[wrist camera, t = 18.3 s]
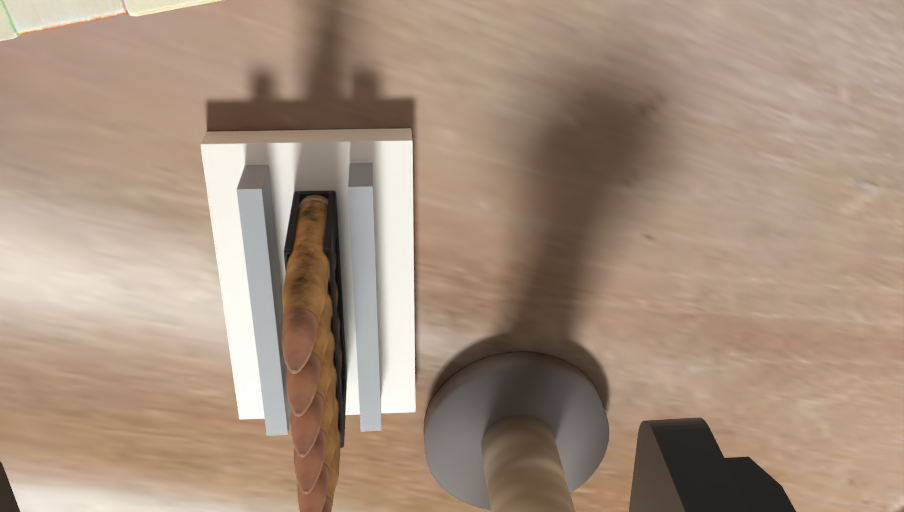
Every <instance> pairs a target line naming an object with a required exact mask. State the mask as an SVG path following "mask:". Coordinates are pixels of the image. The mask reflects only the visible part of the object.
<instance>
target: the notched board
mask: <svg viewBox="0 0 904 512" xmlns="http://www.w3.org/2000/svg"><path fill="white" fill-rule="evenodd" d="M200 145H201V152H202V159H203V166H204V173H205V180H206V187H207V194H208V201H209V208H210V215H211V222H212V229H213V236H214V243H215V250H216V257H217V264H218V272H219V279H220V286H221V293H222V300H223V307H224V314H225V321H226V328H227V335H228V342H229V349H230V356H231V363H232V370H233V377H234V384H235V391H236V398H237V405H238V412H239V419H260V418H265V425H266V433H267V436H271V435H288V430H289V423H290V412H291V407H290V404H289V401H288V396H287V387H286V373H287V365H286V363H285V359H284V355H283V348H282V329H283V313H284V310H283V304H282V292H283V286H284V280H285V274H286V271H285V261H284V247H285V241H286V235H287V229H288V223H289V218H290V212H291V206H292V200H293V194H294V192H295V191H332V190H334V191H335V192H336V199H337V216H338V233H339V250H340V267H341V284H342V301H343V318H344V335H345V352H346V369H347V391H346V412H345V415H354V414H360V426H361V432H362V431H381V413H401V412H415V330H414V236H413V142H412V132H411V128H400V129H339V130H278V131H217V132H206V134H205V136H204V138H203V140H202V142H201V144H200Z"/></svg>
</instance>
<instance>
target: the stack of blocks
mask: <svg viewBox="0 0 904 512" xmlns="http://www.w3.org/2000/svg"><path fill="white" fill-rule="evenodd" d="M217 1H222V0H0V41H3V40H8V39H13V38H16V37H18V36H20V35H21V34H23V33H27V32H33V31H39V30H45V29H50V28H55V27H60V26H65V25H70V24H75V23H80V22H85V21H91V20H96V19H102V18H106V17H111V16H116V15H119V14H128V15H130V16H141V15H147V14H152V13H158V12H163V11H168V10H173V9H178V8H183V7H188V6H194V5H200V4H205V3H211V2H217Z"/></svg>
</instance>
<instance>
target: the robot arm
mask: <svg viewBox="0 0 904 512" xmlns="http://www.w3.org/2000/svg"><path fill="white" fill-rule="evenodd" d="M0 512H20V510H19V507H18V505H17V502H16V499H15V497H14V494H13V491H12V489H11V486H10V483H9V481H8V478H7V475H6V473H5V470H4V467H3V465H2V463H1V462H0ZM629 512H796V511H795V509H794V507H793V505H792V504H791V502H790V500H789V498H788V496H787V495H786V493H785V491H784V489H783V487H782V486H781V485H780V484H779V483H778V482H777V481H775V480H774V479H773V478H772V477H771V476H770V475H769V474H768V473H766V472H765V471H764V470H763V469H762V468H761V467H760V466H759V465H757V464H756V463H755V462H754V461H753V460H752V459H751V458H749V457H735V458H724V456H723V454H722V452H721V450H720V448H719V446H718V444H717V442H716V440H715V438H714V436H713V434H712V432H711V430H710V428H709V426H708V425H707V423H706V422H705V420H703V419H702V418H684V419H666V420H648V421H643V422H642V423H641V425H640V428H639V432H638V439H637V448H636V456H635V465H634V473H633V481H632V490H631V498H630V507H629Z"/></svg>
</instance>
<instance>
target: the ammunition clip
mask: <svg viewBox="0 0 904 512" xmlns="http://www.w3.org/2000/svg"><path fill="white" fill-rule="evenodd" d="M284 261H285V271H286V274H285V280H284V286H283V292H282V304H283V310H284V313H283V329H282V348H283V355H284V359H285V363H286V365H287V373H286V387H287V396H288V401H289V404H290V407H291V412H290V425H291V435H292V440H293V444H294V465H295V473H296V478H297V482H298V503H299V510H300V512H331V509H332V505H333V497H334V491H335V488H336V485H337V482H338V477H339V460H340V448H342V447H344V433H345V412H346V391H347V369H346V352H345V335H344V318H343V301H342V284H341V267H340V250H339V233H338V216H337V199H336V192H335V191H334V190H332V191H295V192H294V194H293V200H292V206H291V212H290V218H289V223H288V229H287V235H286V241H285V247H284Z"/></svg>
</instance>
